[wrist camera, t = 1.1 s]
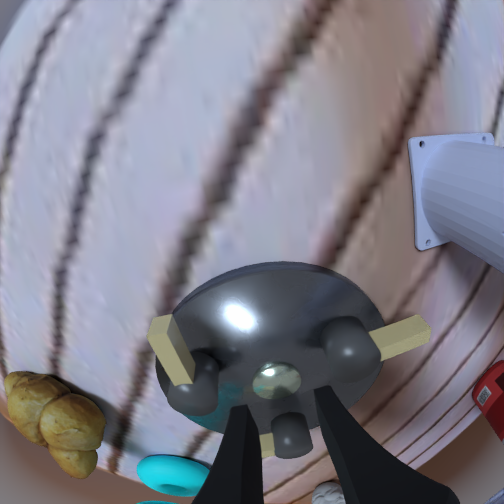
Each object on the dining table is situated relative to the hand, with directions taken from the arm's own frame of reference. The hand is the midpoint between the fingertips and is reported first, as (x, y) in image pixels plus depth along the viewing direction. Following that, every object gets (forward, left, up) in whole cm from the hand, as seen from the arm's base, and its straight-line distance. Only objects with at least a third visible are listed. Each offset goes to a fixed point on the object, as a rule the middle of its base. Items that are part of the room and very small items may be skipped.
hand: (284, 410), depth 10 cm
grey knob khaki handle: (+2, +12, -8) cm, 15 cm away
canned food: (-29, +25, -10) cm, 40 cm away
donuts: (+17, +23, -10) cm, 30 cm away
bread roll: (+24, +7, -10) cm, 27 cm away
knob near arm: (-7, +4, -8) cm, 11 cm away
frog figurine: (-2, +38, -10) cm, 40 cm away
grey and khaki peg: (+6, +2, -8) cm, 10 cm away
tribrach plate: (+1, +6, -9) cm, 11 cm away
